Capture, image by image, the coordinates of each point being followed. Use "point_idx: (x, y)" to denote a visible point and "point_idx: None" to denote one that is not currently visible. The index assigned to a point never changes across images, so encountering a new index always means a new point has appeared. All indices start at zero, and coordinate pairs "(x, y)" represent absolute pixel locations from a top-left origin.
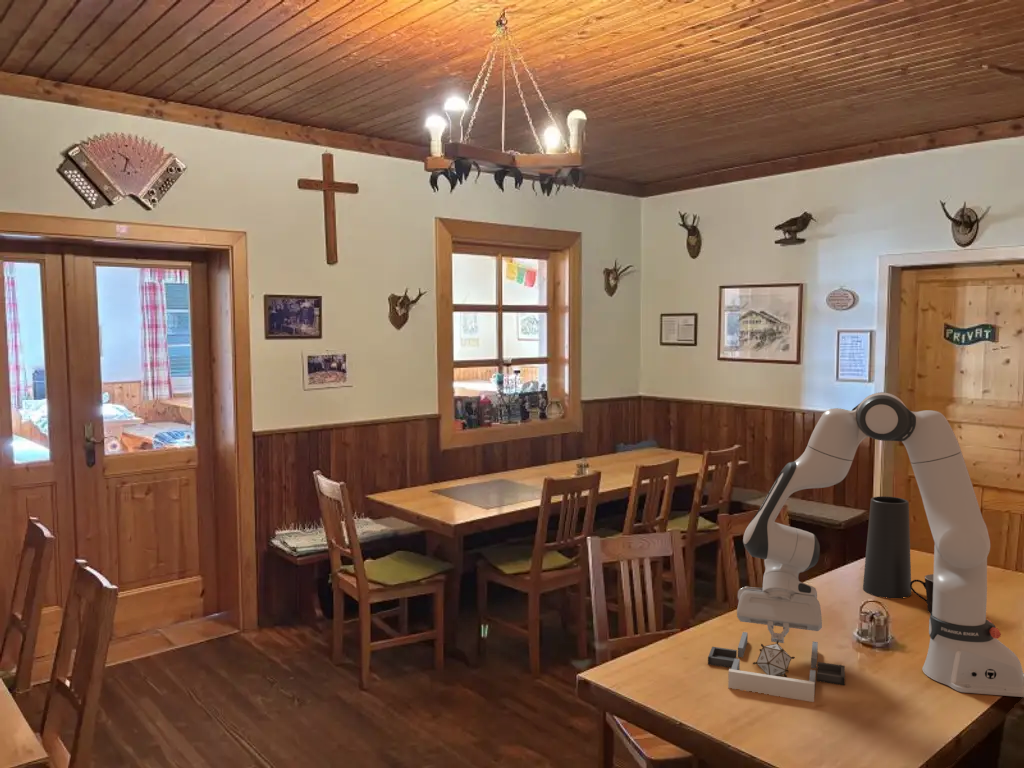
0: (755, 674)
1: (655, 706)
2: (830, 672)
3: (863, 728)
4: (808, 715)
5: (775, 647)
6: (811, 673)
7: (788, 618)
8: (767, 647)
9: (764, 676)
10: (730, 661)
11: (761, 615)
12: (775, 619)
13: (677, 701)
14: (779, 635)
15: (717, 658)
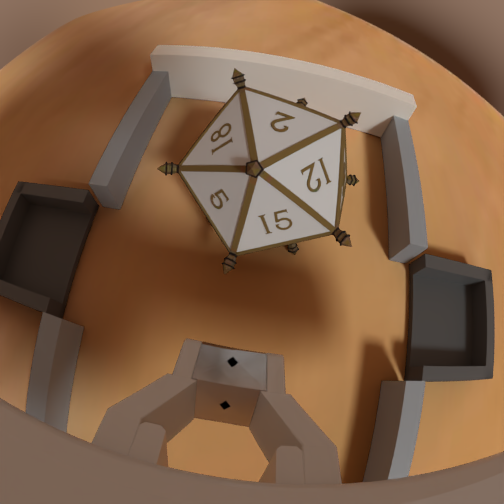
0: (336, 73)
1: (465, 87)
2: (30, 274)
3: (108, 39)
4: None
5: (273, 115)
6: (116, 154)
7: (70, 468)
8: (319, 112)
9: (307, 63)
10: (431, 257)
11: (432, 494)
12: (255, 488)
13: (450, 93)
14: (214, 366)
15: (469, 265)
